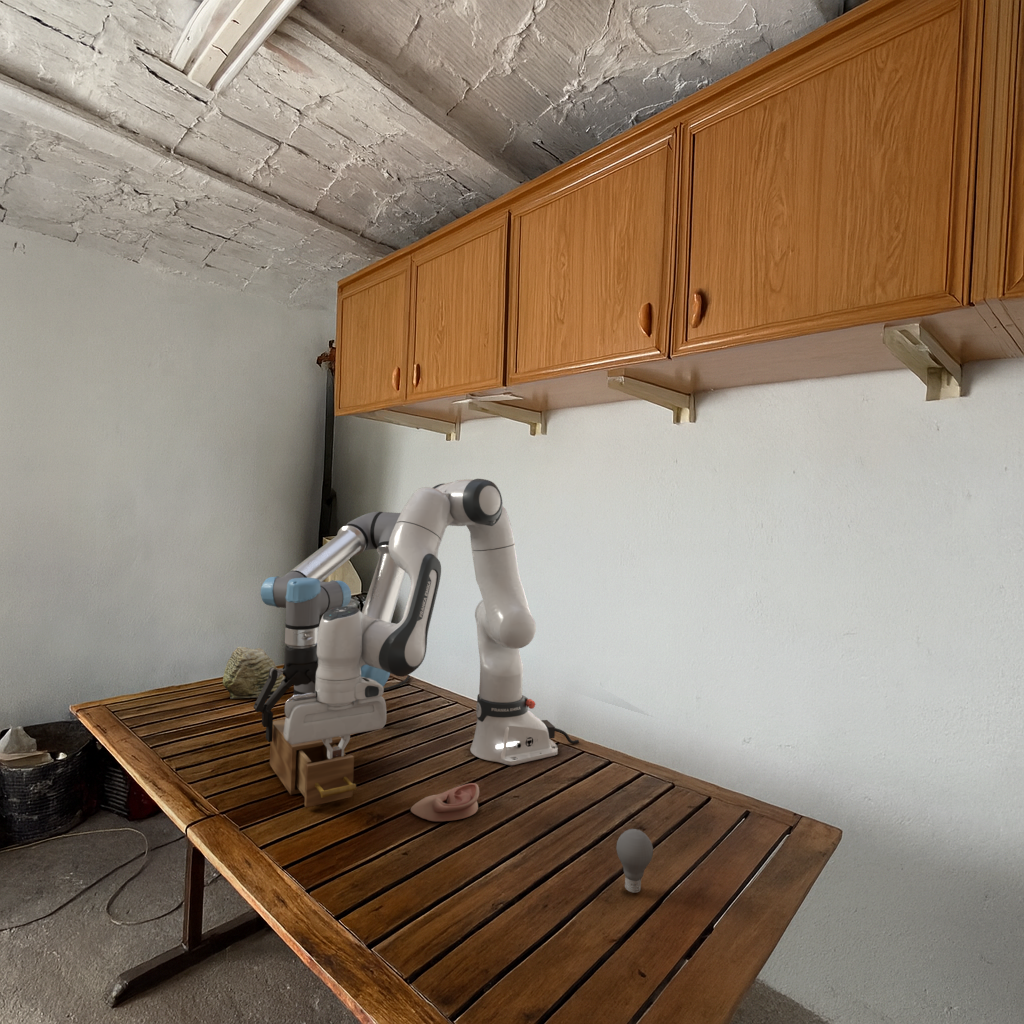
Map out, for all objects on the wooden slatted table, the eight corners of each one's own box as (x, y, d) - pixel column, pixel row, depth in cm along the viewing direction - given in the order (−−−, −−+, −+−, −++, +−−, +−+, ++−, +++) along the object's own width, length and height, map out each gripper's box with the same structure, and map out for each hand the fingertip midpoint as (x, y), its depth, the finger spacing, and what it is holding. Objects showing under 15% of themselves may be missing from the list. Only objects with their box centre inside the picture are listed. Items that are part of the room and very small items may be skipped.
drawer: (362, 807, 128) (363, 766, 128) (314, 819, 123) (316, 776, 123) (326, 767, 146) (328, 731, 146) (283, 776, 140) (285, 738, 140)
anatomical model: (405, 797, 126) (424, 773, 137) (404, 817, 126) (424, 792, 138) (469, 807, 124) (484, 782, 135) (468, 827, 124) (483, 800, 135)
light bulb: (610, 879, 108) (613, 822, 108) (644, 879, 109) (647, 822, 109) (619, 902, 102) (622, 840, 102) (655, 901, 103) (658, 840, 103)
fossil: (218, 695, 195) (220, 647, 195) (278, 685, 208) (279, 640, 207) (228, 703, 189) (230, 653, 188) (289, 692, 201) (290, 645, 201)
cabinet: (340, 783, 140) (342, 737, 140) (290, 795, 134) (292, 747, 134) (315, 755, 154) (317, 713, 154) (269, 764, 148) (271, 721, 148)
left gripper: (249, 654, 138) (246, 750, 139) (358, 642, 152) (356, 730, 153) (241, 646, 144) (239, 738, 145) (347, 636, 158) (345, 720, 159)
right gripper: (289, 700, 119) (286, 773, 119) (391, 686, 130) (388, 753, 131) (280, 691, 124) (277, 761, 124) (378, 678, 136) (376, 742, 136)
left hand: (299, 734), depth 149 cm, fingers open, 13 cm apart
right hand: (335, 757), depth 127 cm, fingers closed
